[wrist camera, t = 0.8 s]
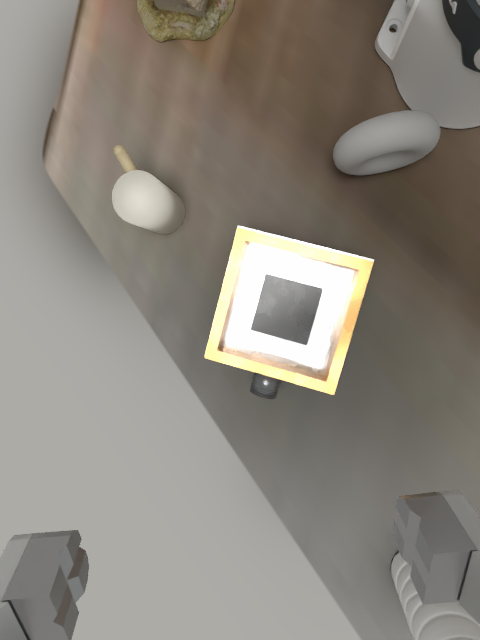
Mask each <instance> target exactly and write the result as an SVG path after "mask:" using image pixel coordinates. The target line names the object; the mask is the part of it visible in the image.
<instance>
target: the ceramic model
mask: <svg viewBox="0 0 480 640" xmlns="http://www.w3.org/2000/svg"><path fill="white" fill-rule="evenodd" d="M233 7H234V0H137V8H138V12H139V13H140V16H141V18H142V21H143V23H144V27H145V28H146V31H147V32H148V34H149V35H150V36H151V37H153V38H154V39H155V40H157V41H160V42H163V41H166V40H172V39H188V40H196V41H197V40H200V41H203V40H206V39H208V38H209V37H211V36H213V35H214V34H216V33H217V32H218V31H219V30H220V28H221V27H222V26H223V25H224V23H225V22H226V21H227V20H228V18H229V17H230V15H231V13H232V11H233Z"/></svg>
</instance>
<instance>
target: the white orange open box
mask: <svg viewBox="0 0 480 640" xmlns="http://www.w3.org/2000/svg"><path fill="white" fill-rule="evenodd" d="M373 262H374V259H370V258H366V257H362V256H358V255H354V254H350V253H346V252H342V251H338V250H334V249H330V248H326V247H322V246H318V245H314V244H310V243H306V242H302V241H298V240H294V239H290V238H286V237H282V236H278V235H274V234H270V233H266V232H262V231H258V230H254V229H250V228H246V227H242V226H238V227H237V231H236V235H235V239H234V243H233V247H232V251H231V254H230V258H229V262H228V266H227V270H226V274H225V278H224V282H223V286H222V290H221V294H220V298H219V301H218V305H217V309H216V313H215V317H214V321H213V325H212V329H211V333H210V337H209V341H208V345H207V349H206V352H205V357H204V358H207V359H211V360H214V361H218V362H221V363H225V364H228V365H231V366H235V367H238V368H242V369H245V370H249V371H252V372H255V374H254V377H253V381H252V385H251V388H250V391H251V392H252V393H253V394H255V395H257V396H260V397H263V398H269V399H274V398H276V395H277V391H278V388H279V384H280V381H281V380H284V381H287V382H291V383H294V384H298V385H301V386H305V387H308V388H311V389H315V390H318V391H322V392H325V393H329V394H332V395H334V393H335V390H336V386H337V383H338V380H339V376H340V373H341V370H342V366H343V363H344V360H345V356H346V353H347V349H348V346H349V343H350V339H351V336H352V333H353V329H354V326H355V323H356V319H357V316H358V313H359V309H360V306H361V303H362V299H363V296H364V292H365V289H366V286H367V282H368V279H369V276H370V272H371V269H372V266H373Z"/></svg>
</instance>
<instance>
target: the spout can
mask: <svg viewBox="0 0 480 640" xmlns="http://www.w3.org/2000/svg"><path fill="white" fill-rule="evenodd" d="M114 154H115V155H116V157H117V159H118V160H119V162H120V164H121V165H122V167H123V169H124V170H125V172H126V173H125V174H124V175H122V176H121V177H120V178H119V179H118V180H117V182H116V184H115V186H114V188H113V192H112V202H113V206H114V209H115V211H116V212H117V214H118V215H119V216H120V217H121V218H122V219H123V220H125V221H126V222H129V223H131V224H134V225H137V226H139V227H142V228H145V229H147V230H150V231H152V232H155V233H158V234H170V233H173V232H175V231H176V230H177V229H178V228H179V227H180V226H181V225H182V223H183V221H184V218H185V206H184V203H183V201H182V199H181V198H180V197H179V196H178V195H177V194H176V193H174V192H173V191H172V190H171V189H169V188H168V187H167V186H165V185H164V184H163V183H162V182H160V181H159V180H158V179H157V178H155V177H154V176H153V175H151V174H150V173H148V172H146V171H142V170H138V169H137V168H136V166H135V164H134V163H133V161H132V159H131V158H130V156H129V154H128V152H127V151H126V149H125V148H124V147H123V146H122V145H117V146H116V147H115V148H114Z"/></svg>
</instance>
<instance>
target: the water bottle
mask: <svg viewBox="0 0 480 640" xmlns="http://www.w3.org/2000/svg"><path fill="white" fill-rule="evenodd" d="M411 568H412V566H411V565H409V564H408V563H407V562H406V561H404V560H403V559H402V557H401V555H400V553H399V552H398V554H396V555H395V557H394V558H393V561H392V564H391V574H392V578H393V581H394V584H395V587H396V590H397V592H398V595H399V599H400V602H401V604H402V606H403V610H404V613H405V616H406V618H407V621H408V624H409V628H410V631H411V633H412V635H413V638H414V640H480V624H479V623H478V622H477V621H476V620H475V619H474V618H473V617H472V616H471V615H470V614H468V613H467V612H466V611H465V610H464V609H463V608H462V607H461V606H460V605H459V604H458V603H459V602H449V603H437V604H424V605H423V604H422V602H421V599H420V597H419V595H418V593H417V591H416V588H415V586H414V584H413V582H412V580H411V577H410V574H411Z"/></svg>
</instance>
